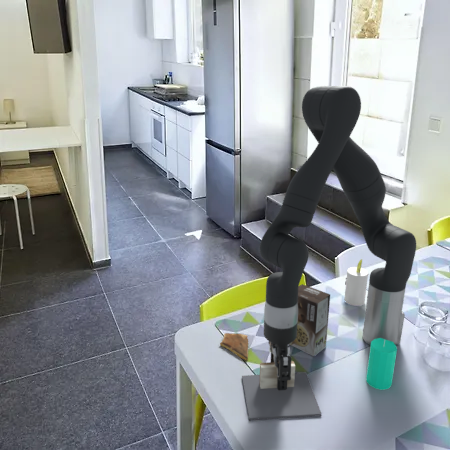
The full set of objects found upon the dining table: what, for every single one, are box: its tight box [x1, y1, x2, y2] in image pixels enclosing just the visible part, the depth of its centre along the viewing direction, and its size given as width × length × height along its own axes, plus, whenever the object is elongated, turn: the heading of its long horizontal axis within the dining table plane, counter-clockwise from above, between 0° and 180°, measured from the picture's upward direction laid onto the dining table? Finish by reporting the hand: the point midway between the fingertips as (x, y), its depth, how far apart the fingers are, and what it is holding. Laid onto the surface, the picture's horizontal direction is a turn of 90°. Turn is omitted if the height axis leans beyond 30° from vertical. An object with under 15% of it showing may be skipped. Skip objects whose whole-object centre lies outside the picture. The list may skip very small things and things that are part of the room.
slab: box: [259, 360, 296, 389], centre depth 110 cm, size 8×2×6 cm, turn 94°
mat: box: [241, 371, 322, 421], centre depth 108 cm, size 16×14×1 cm
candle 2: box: [365, 338, 398, 391], centre depth 111 cm, size 6×6×12 cm
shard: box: [219, 332, 249, 361], centre depth 125 cm, size 11×8×2 cm
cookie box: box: [288, 283, 331, 357], centre depth 124 cm, size 9×6×16 cm
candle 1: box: [343, 259, 369, 307], centre depth 146 cm, size 6×6×15 cm
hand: (278, 376), depth 110 cm, fingers open, 8 cm apart
